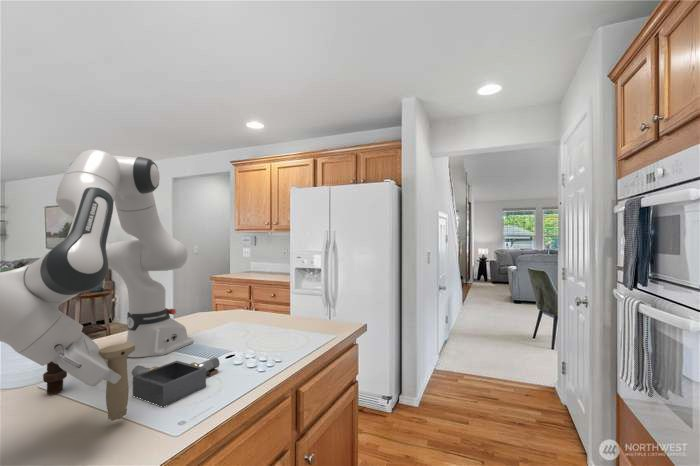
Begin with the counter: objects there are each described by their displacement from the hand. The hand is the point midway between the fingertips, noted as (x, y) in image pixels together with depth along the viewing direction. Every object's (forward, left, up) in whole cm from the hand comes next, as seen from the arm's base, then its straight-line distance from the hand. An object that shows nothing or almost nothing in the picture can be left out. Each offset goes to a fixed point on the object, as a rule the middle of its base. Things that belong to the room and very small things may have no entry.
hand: (116, 375), depth 71 cm
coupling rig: (-19, -8, -10) cm, 23 cm away
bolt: (-1, -30, -11) cm, 32 cm away
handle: (0, 0, -9) cm, 9 cm away
